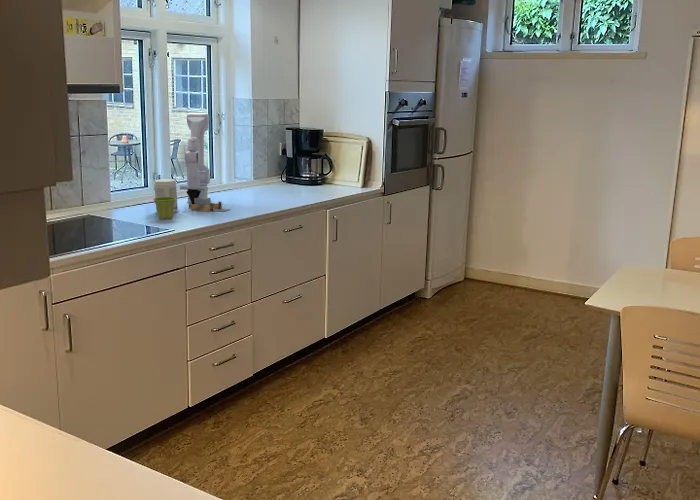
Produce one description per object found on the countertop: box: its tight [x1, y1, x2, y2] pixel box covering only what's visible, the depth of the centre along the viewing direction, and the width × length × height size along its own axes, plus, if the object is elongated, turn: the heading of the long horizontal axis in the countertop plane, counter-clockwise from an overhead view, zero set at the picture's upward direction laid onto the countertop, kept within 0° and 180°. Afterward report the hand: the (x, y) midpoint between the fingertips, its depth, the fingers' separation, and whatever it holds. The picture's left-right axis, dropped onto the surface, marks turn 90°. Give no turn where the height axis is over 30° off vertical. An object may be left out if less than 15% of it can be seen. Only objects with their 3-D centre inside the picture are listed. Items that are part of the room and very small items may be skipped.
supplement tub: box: [154, 178, 178, 214], centre depth 316 cm, size 10×10×15 cm
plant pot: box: [153, 197, 176, 220], centre depth 302 cm, size 9×9×9 cm
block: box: [194, 197, 212, 206], centre depth 326 cm, size 6×4×5 cm
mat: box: [213, 208, 230, 213], centre depth 323 cm, size 6×6×1 cm
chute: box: [188, 201, 223, 212], centre depth 326 cm, size 13×8×4 cm, turn 68°
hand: (194, 205), depth 328 cm, fingers closed
